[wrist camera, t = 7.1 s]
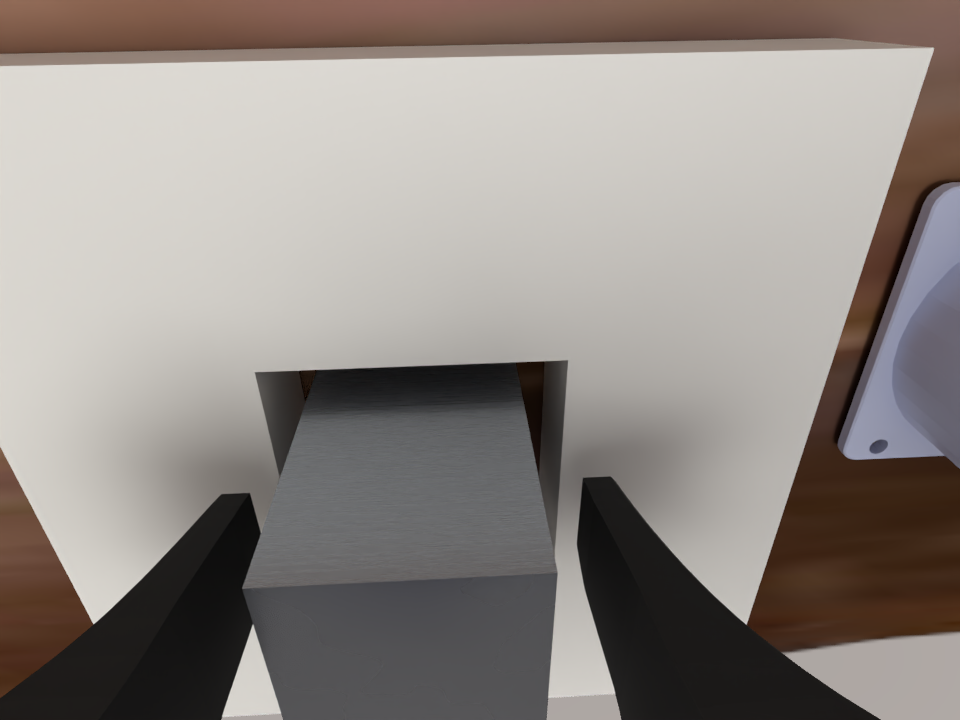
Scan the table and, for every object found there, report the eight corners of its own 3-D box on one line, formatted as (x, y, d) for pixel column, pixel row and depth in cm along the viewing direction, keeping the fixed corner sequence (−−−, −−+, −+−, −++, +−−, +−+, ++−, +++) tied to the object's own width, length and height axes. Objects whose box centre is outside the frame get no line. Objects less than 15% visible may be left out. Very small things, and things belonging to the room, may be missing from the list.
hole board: (834, 37, 13) (934, 47, 10) (692, 606, 22) (725, 687, 19) (-60, 55, 12) (-198, 69, 9) (181, 633, 21) (144, 721, 19)
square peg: (507, 321, 16) (557, 573, 9) (506, 457, 18) (544, 741, 11) (331, 327, 16) (241, 588, 9) (352, 464, 18) (294, 756, 11)
